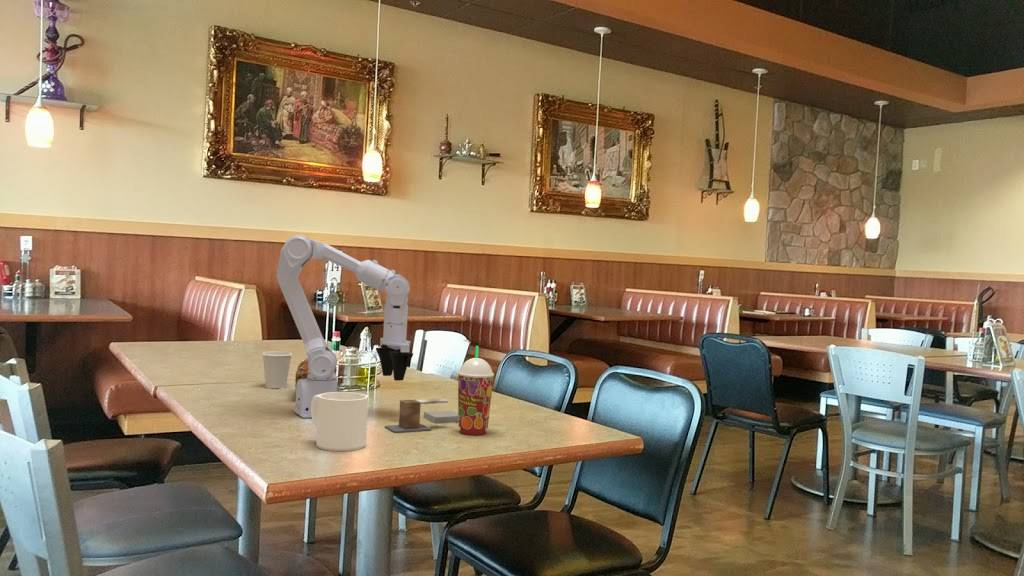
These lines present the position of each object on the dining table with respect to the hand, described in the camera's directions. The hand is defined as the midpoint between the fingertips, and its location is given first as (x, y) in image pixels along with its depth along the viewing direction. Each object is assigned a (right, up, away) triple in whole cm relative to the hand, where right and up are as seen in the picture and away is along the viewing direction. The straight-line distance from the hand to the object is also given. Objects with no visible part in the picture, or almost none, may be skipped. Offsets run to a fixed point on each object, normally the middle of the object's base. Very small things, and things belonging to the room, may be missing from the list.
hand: (392, 378), depth 193 cm
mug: (-7, -10, -32) cm, 35 cm away
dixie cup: (-39, -7, +32) cm, 51 cm away
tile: (+9, -10, -3) cm, 14 cm away
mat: (+6, -10, -14) cm, 18 cm away
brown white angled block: (+9, -10, -12) cm, 18 cm away
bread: (-25, -8, +21) cm, 33 cm away
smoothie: (+21, -11, -14) cm, 27 cm away
